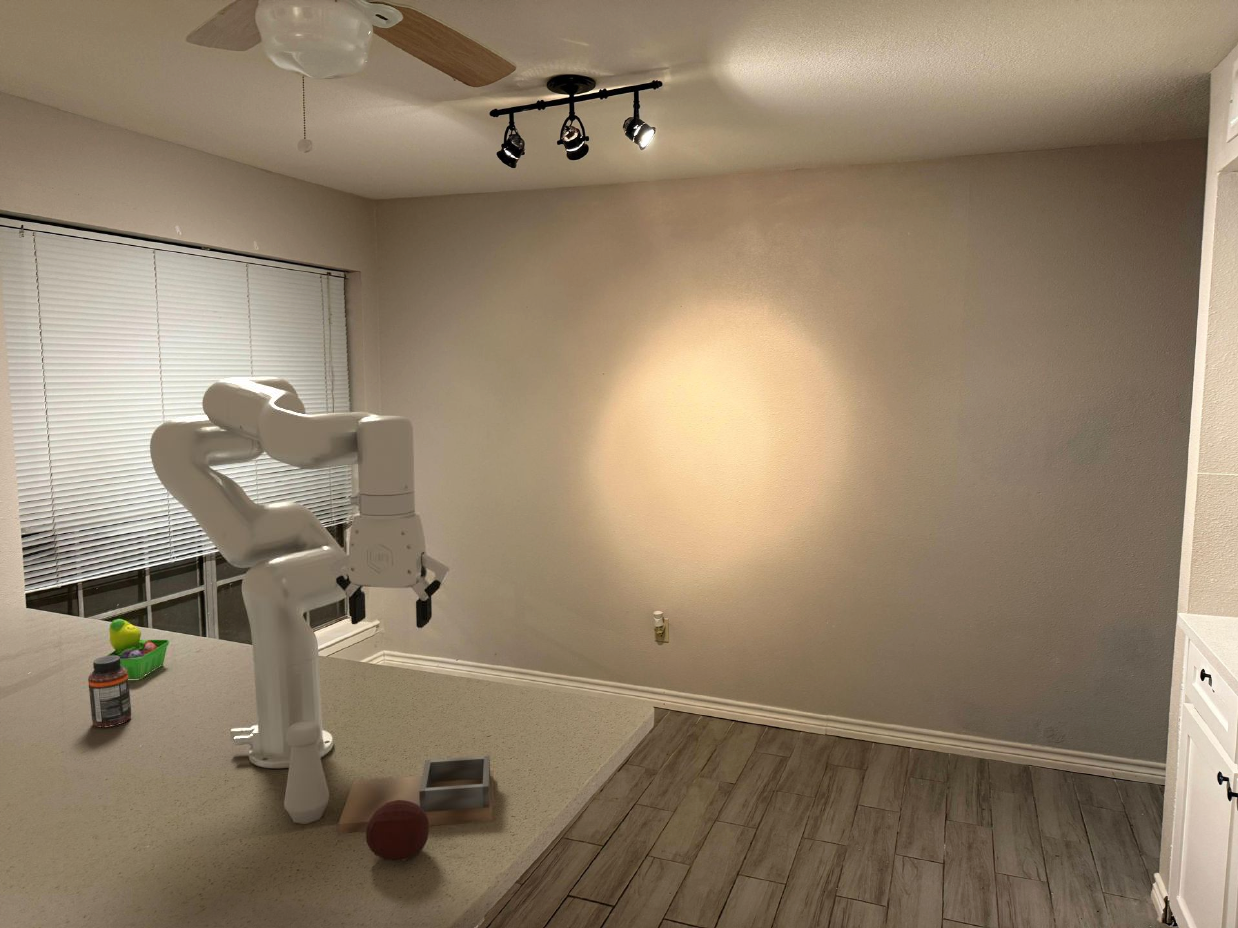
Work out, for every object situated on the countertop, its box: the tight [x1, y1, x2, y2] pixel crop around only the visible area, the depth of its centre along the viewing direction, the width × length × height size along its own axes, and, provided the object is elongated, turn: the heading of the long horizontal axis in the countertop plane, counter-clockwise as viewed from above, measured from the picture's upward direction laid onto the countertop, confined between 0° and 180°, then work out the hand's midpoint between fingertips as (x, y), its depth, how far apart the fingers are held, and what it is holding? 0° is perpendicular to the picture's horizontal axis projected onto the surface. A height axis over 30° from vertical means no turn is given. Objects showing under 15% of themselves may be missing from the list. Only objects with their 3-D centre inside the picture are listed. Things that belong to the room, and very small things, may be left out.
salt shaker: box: [283, 721, 330, 825], centre depth 117 cm, size 6×6×13 cm
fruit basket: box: [106, 618, 170, 679], centre depth 173 cm, size 11×9×11 cm
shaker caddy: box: [337, 755, 494, 834], centre depth 120 cm, size 20×12×4 cm, turn 98°
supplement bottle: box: [87, 655, 132, 728], centre depth 149 cm, size 6×6×11 cm
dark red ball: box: [365, 800, 430, 862], centre depth 107 cm, size 7×8×7 cm
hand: (390, 623), depth 122 cm, fingers open, 9 cm apart
